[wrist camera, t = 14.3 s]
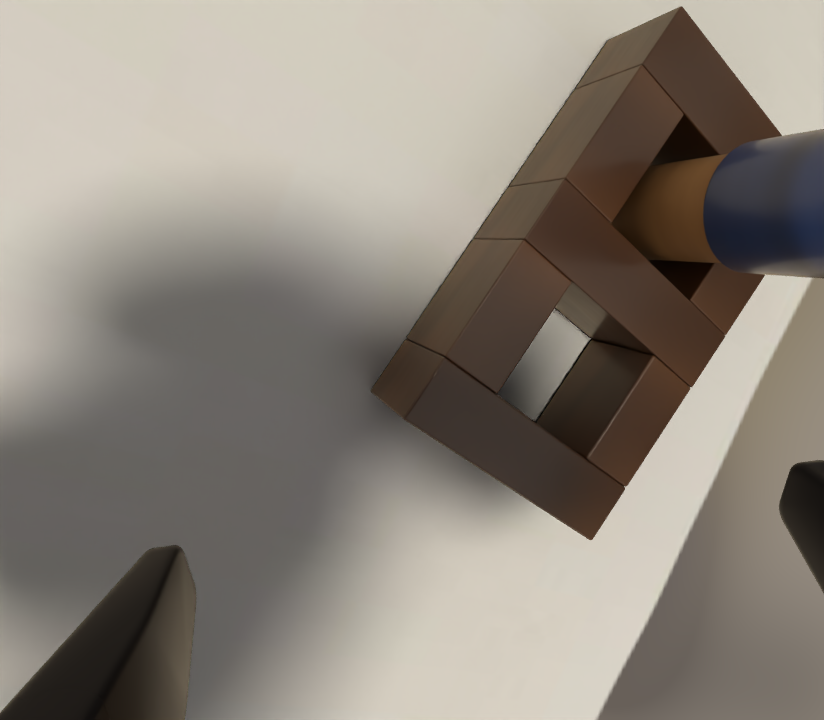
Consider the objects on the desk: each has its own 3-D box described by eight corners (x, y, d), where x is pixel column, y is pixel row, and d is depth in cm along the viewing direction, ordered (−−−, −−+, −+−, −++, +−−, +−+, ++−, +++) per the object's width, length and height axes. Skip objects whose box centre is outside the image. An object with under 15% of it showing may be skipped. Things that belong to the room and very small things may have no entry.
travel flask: (590, 279, 23) (986, 322, 12) (562, 185, 22) (973, 130, 11) (665, 242, 24) (1103, 246, 13) (642, 149, 23) (1101, 62, 12)
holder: (537, 501, 24) (591, 541, 21) (369, 391, 21) (402, 418, 18) (740, 193, 25) (823, 187, 22) (608, 38, 22) (681, 4, 18)
